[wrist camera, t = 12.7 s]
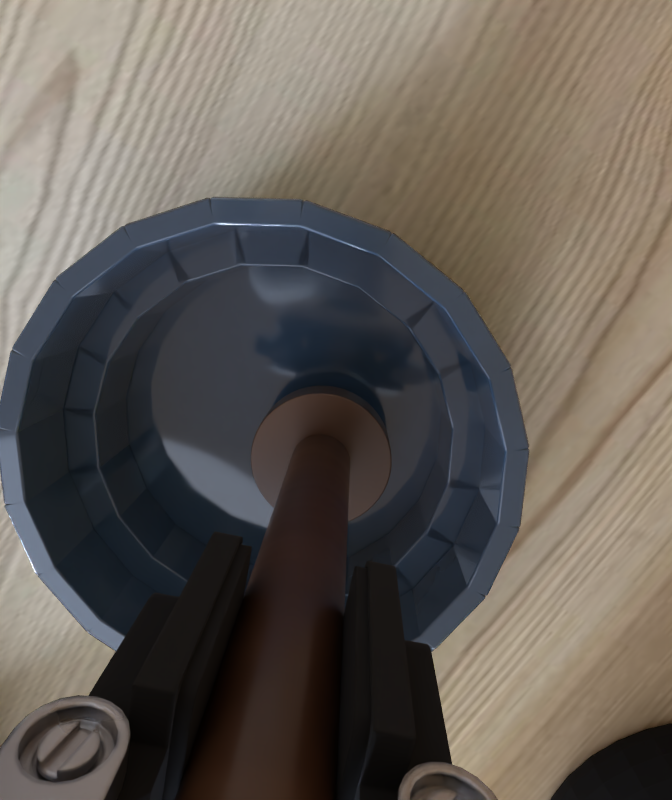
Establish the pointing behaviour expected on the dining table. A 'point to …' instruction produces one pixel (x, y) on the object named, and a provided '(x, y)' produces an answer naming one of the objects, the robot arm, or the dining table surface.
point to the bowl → (253, 407)
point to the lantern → (625, 770)
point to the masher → (292, 606)
